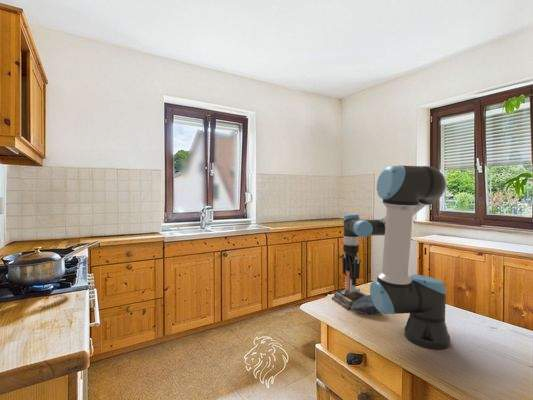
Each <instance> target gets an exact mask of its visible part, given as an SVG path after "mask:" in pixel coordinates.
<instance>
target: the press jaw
mask: <svg viewBox="0 0 533 400" xmlns="http://www.w3.org/2000/svg"><path fill="white" fill-rule="evenodd" d="M350 278H351V270H346V289H343V290H344V291H343V292H340V294H341V295H343V296H345V297H347V298H348V299H350V300H353V299H360V292H361V289H360V288H356V291H354V292H350Z"/></svg>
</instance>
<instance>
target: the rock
mask: <svg viewBox="0 0 533 400" xmlns="http://www.w3.org/2000/svg"><path fill="white" fill-rule="evenodd" d="M351 309H352V310H351V311H356V312H358V313H361V314H367V315H375V314H377V313H378V312H379V311H378V310H377V309H376V307H375V306H374V304H373V301H372V298H371V294H366V296H362V297H361V298H360V299H358V300H357V301H356V302H354V303H353V304H352V306H351Z"/></svg>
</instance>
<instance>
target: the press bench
mask: <svg viewBox="0 0 533 400" xmlns="http://www.w3.org/2000/svg"><path fill="white" fill-rule="evenodd" d="M344 290H345V289H340V290H337V291H334V292H333V296H331V300H332V301H334V302H335V303H337V304H338V305H340V306H341V307H343V309H345V310H347V311H353V310H352V309H351V306H352V304H353V303H354V302H356V301H357V300H358V299H353V300H350V299H348V298H347V297H345V296H343V295H341V294H340V292H343V291H344ZM366 295H367V294H366V293H364V292H362V291H360V298H361V297H362V296H366Z"/></svg>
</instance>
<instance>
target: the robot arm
mask: <svg viewBox="0 0 533 400" xmlns="http://www.w3.org/2000/svg"><path fill="white" fill-rule="evenodd" d="M446 185H447V183H446V179H445V176H444V175H443V173H442V172H441V171H439V169H436V168H435V167H433V166H428V165H402V164H401V165H400V164H399V165H390V166H387V167H385V168H384V169H383V170H382V171H381V173H380V174H379V176H378V178H377V182H376V191H377V196H378V197H379V198H380V199H382V204H383V205H384V206H385V208H386V210H385V211H386V213H385V216H383V218H381V219H360V214H357V213H345V214H344V215H343V239H342V240H343V247H342V248H343V250H342V251H343V252H344V253H343V254H341V259H342V274H344V276H345V278H344V279H345V284H344V285H345V289H344V290H346V270H351V278H350V292H354V291H356V289H357V286H356V285H357V280H358V279H360V267H361V261H362V260H361V259H359V258H358V255H357V254H358V253H359V252H360V251H359V250H360V249H359V246H360V245H359V243H360V242H359V241H360V238H359V237H361V238H362V237H363V238H367V237H369V236H384V243H383V257H382V265H381V266H382V268H381V271H379V272H378V273H377V278H376V280H373V281H371V283H370V285H369V293H370V294H369V295H371V298H372V301H373V304H374V306H375V307H376V309H377V310H378V312H379V313H381V314H384V315H398V314H399V315H401V314H409V315H408V318H407V321H406V324H405V326H404V328H403V329H404V331H403V335H404V337H405V338H406V339H407V340H408V341H410V342H412V343H413V344H415V345H417V346H420V347H423V348H427V349H433V350H444V349H448V348H449V347H450V346H451V336H450V334H449V331H448V326H447V324H446V300H447V291H446V284H445V283H444V282H443V281H442V280H440V279H437V278H434V277H431V276H427V275H422V274H421V275H420V274H411V275H409V264H410V263H409V261H410V253H411V252H410V251H411V240H412V239H411V238H412V231H413V230H412V228H413V219H414V218H413V216H415V215H416V214H418V213H419V212H420V211H421V210H422V209H423V208H425V207H426V206H431V205H433V204H434V203H435V202H437V201H439V199H440V198H441V197H442V196H443V195H444V193H445V191H446Z"/></svg>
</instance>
